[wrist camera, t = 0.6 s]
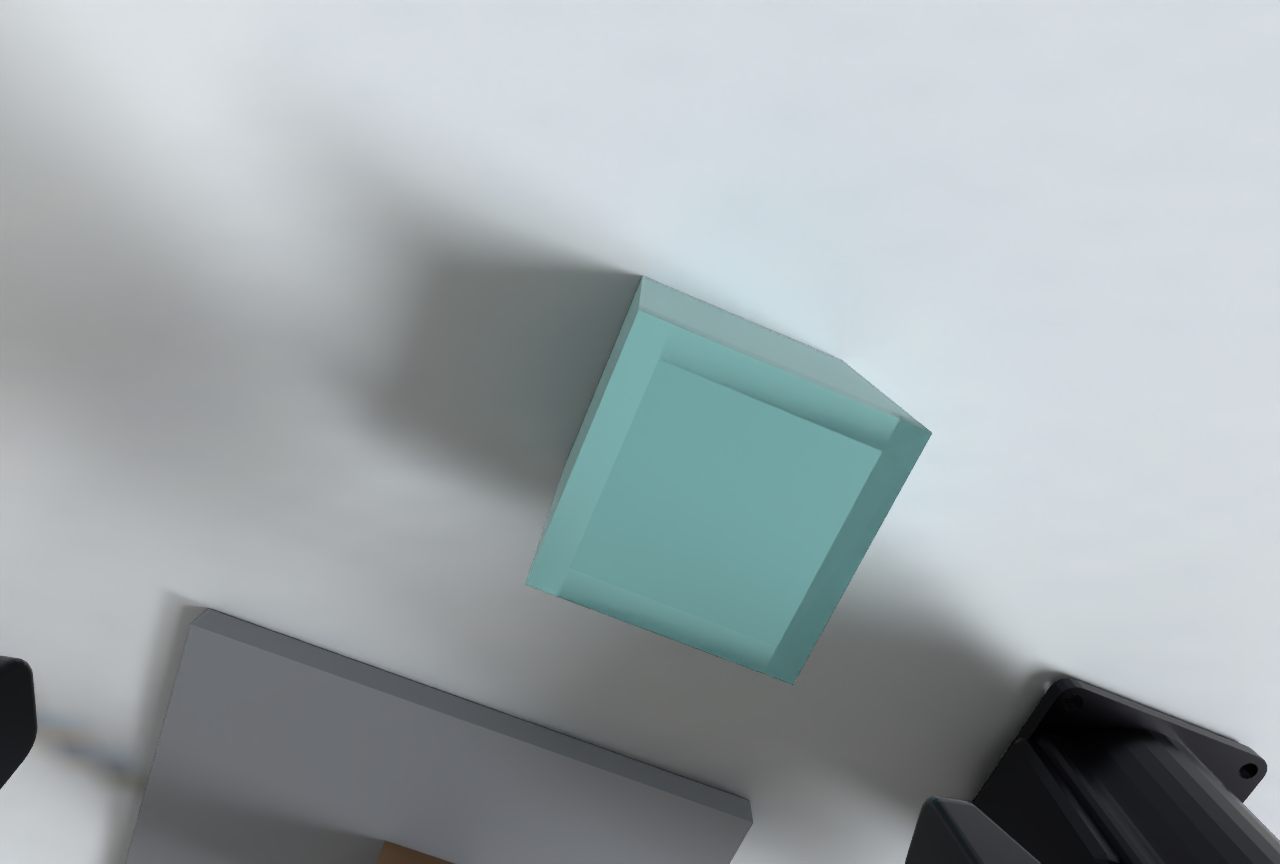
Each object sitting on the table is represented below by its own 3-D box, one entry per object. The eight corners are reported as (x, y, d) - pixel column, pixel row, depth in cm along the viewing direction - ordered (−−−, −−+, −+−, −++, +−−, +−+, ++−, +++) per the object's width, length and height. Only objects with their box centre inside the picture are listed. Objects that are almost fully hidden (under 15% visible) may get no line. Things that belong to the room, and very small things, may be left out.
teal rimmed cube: (842, 360, 18) (932, 433, 12) (750, 543, 19) (792, 684, 14) (642, 275, 18) (638, 309, 12) (563, 469, 19) (524, 584, 13)
